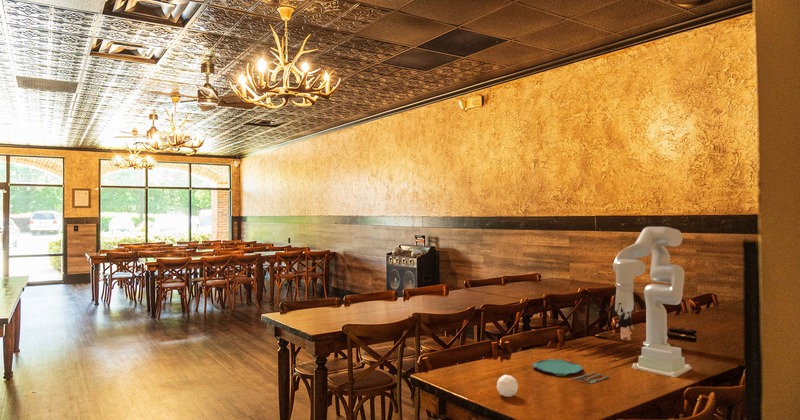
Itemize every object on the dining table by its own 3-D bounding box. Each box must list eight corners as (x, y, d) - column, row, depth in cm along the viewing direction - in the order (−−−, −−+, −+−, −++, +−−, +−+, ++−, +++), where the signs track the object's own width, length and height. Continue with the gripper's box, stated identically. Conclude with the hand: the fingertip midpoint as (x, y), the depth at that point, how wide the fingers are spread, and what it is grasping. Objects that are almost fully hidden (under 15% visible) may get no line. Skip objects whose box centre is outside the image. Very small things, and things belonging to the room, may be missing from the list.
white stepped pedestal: (649, 360, 241) (648, 340, 241) (691, 369, 228) (691, 348, 228) (631, 368, 229) (631, 347, 229) (675, 377, 216) (675, 355, 216)
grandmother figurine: (633, 339, 246) (633, 312, 246) (633, 340, 242) (634, 313, 243) (615, 337, 248) (616, 310, 249) (615, 338, 245) (616, 311, 245)
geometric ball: (502, 404, 192) (489, 386, 193) (509, 390, 199) (496, 373, 199) (518, 398, 188) (504, 380, 188) (525, 384, 194) (511, 367, 194)
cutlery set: (554, 361, 240) (554, 356, 240) (613, 379, 216) (613, 373, 215) (524, 369, 229) (524, 363, 229) (583, 389, 204) (583, 383, 204)
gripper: (624, 284, 253) (625, 322, 253) (608, 288, 242) (609, 328, 242) (640, 286, 248) (641, 324, 248) (624, 290, 237) (625, 331, 237)
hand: (625, 326), depth 245 cm, fingers closed on grandmother figurine, 3 cm apart
